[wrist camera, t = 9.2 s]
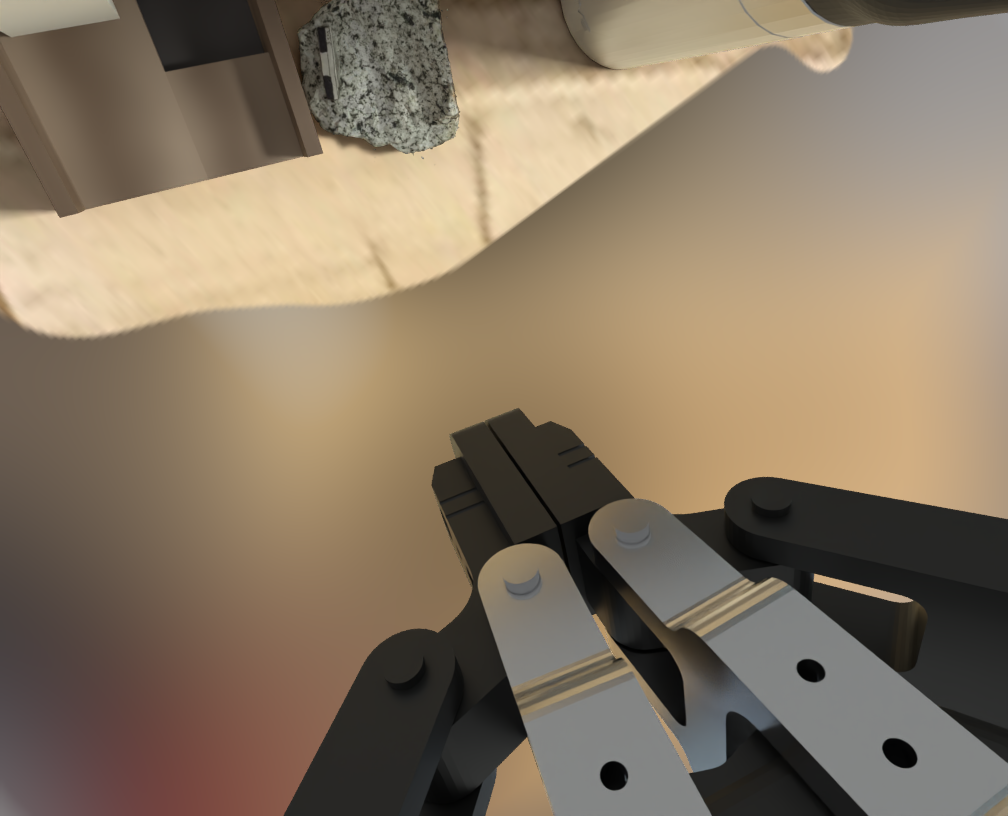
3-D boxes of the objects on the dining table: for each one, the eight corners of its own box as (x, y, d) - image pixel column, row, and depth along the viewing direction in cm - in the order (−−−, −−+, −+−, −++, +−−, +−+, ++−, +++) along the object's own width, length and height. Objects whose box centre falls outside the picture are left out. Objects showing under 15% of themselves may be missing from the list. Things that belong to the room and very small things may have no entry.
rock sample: (229, -10, 28) (406, -9, 26) (305, -72, 32) (462, -76, 30) (310, 188, 36) (448, 201, 34) (361, 118, 40) (487, 126, 38)
